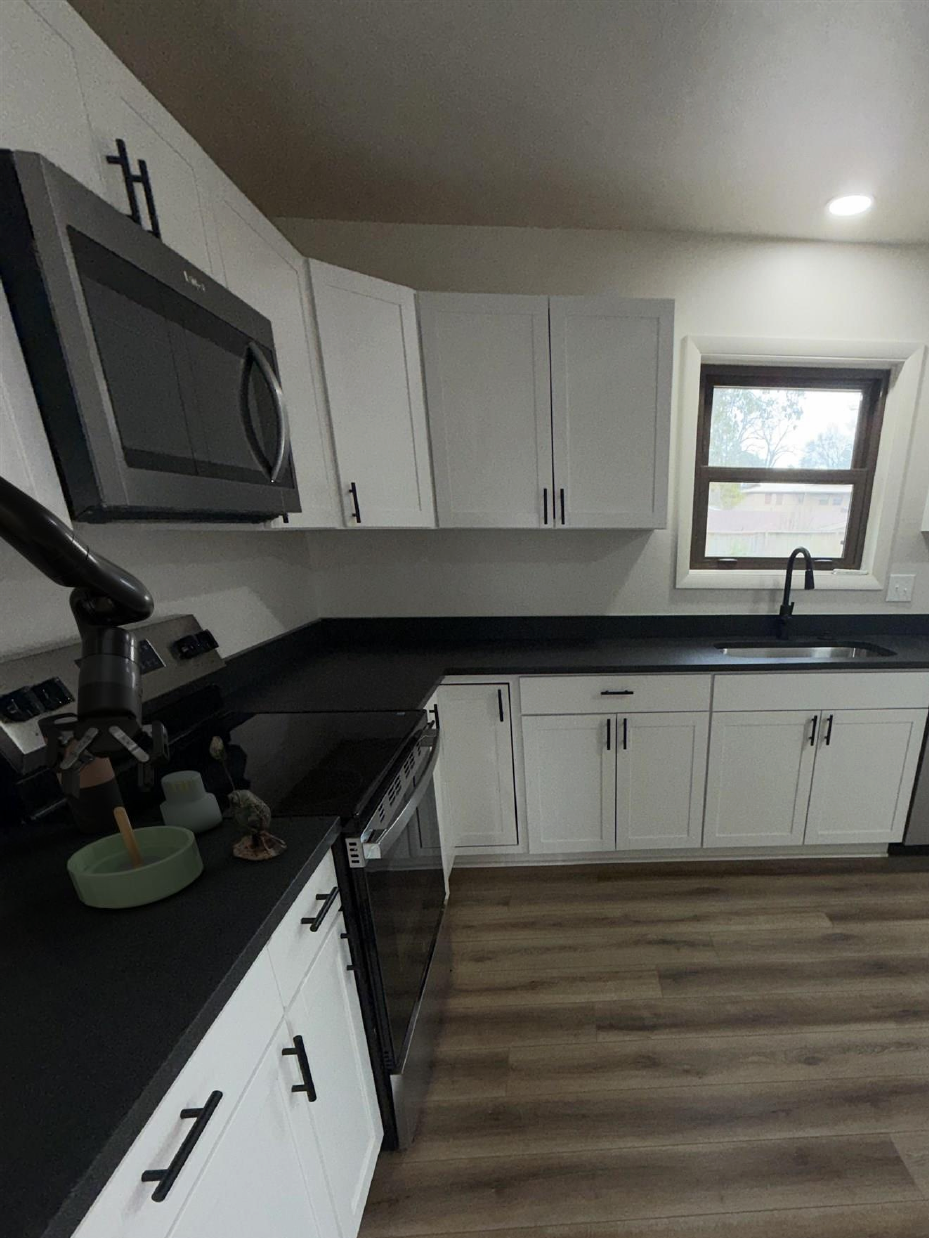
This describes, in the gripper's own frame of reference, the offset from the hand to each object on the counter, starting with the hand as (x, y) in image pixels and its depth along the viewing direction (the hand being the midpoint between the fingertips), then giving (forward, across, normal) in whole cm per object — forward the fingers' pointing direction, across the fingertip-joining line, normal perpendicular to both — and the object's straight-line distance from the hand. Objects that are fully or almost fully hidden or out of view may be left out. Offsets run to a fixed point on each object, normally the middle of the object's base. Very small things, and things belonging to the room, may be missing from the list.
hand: (108, 793), depth 91 cm
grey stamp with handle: (+9, 0, +12) cm, 15 cm away
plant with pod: (+6, +15, +16) cm, 23 cm away
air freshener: (-3, +3, +26) cm, 26 cm away
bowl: (+10, 0, +12) cm, 16 cm away
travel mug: (-8, -13, +30) cm, 34 cm away
